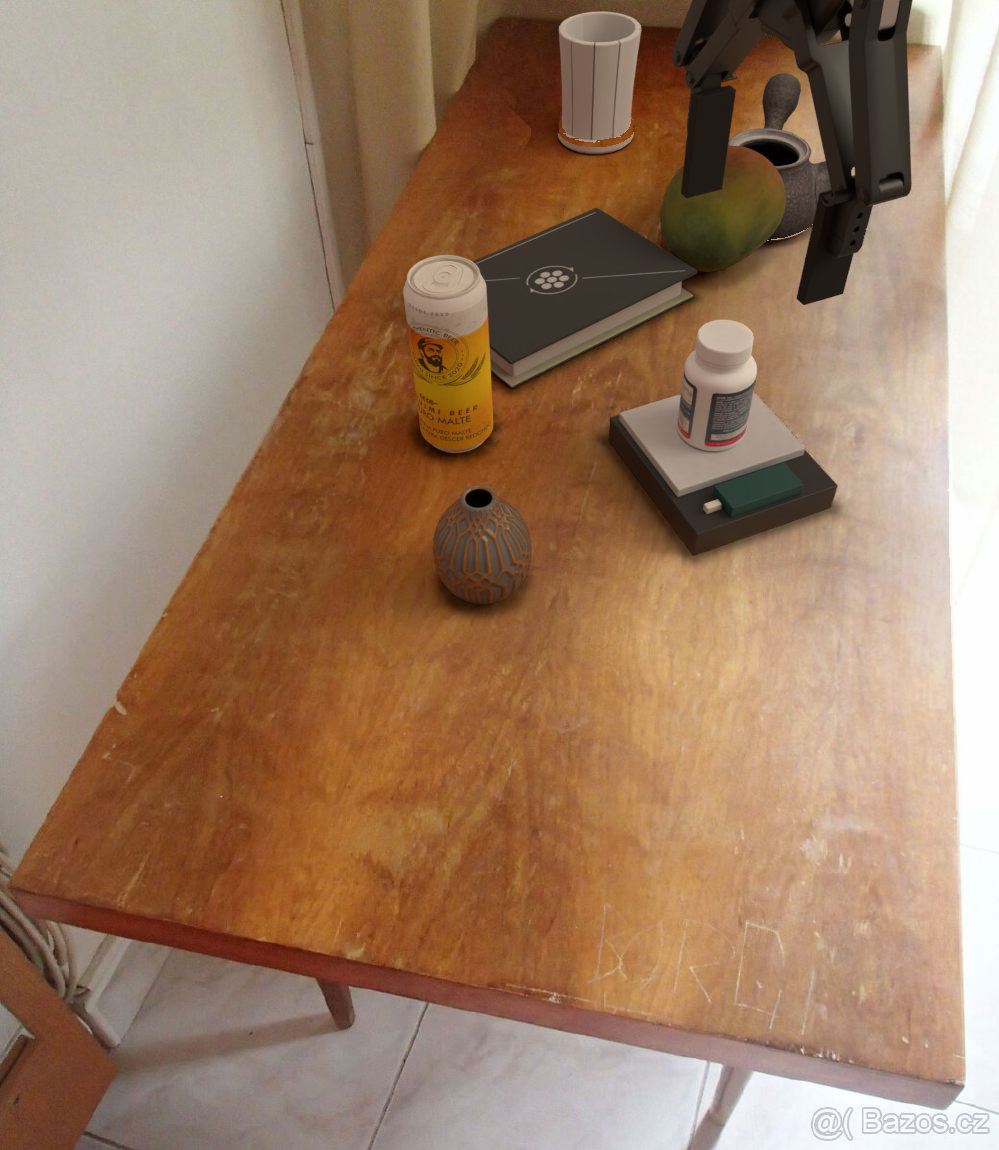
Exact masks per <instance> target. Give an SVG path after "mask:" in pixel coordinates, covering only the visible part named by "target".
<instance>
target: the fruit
mask: <svg viewBox="0 0 999 1150" xmlns="http://www.w3.org/2000/svg"><path fill="white" fill-rule="evenodd" d="M683 169H684V165H682V166H681V167H680V168H679V169H678V170H677V171H676V173H675V174H674V175H673V176H672V178H671V180H670V181H669V183H668V185H667V186H666V189H665V192H664V195H663V198H662V202H661V205H660V206H661V207H660V213H659V223H660V230H661V234H662V235H661V236H662V237H663V241H664V243H665V245H666V247H667V249H668V252H669V253H670V254H672V255H674V256H675V257H677V258H678V259H680V260H682V261H683V262H685V263H686V264H688V265H690V266H691V267H693V268H694V269H696V270H697V272H703V273H710V272H711V273H713V272H718V271H721V270H725V269H727V268H730V267H732V266H733V265H735V264H736V263H739V262H740V261H742V260H744V259H745V258H747V257H749V256H750V255H751V254H753V253H754V252H755V251H756V250H758V249H759V248H760V247H761V246H763V245H764V244H765V243H766V242H768V241H767V240H768V239H769V237H770V236H771V235H772V234H773V233H774V232H775V231H776V229H777V228H778V226H779V224H780V223H781V220H782V217H783V214H784V212H785V207H786V191H785V186H784V182H783V180H782V177H781V175H780V174H779V172H778V170H777V169H776V167H775V166H774V165H773V164H772V163H771V162H770V161H769V160H768V159H767V158H766V157H764V156H763V155H761V154H760V153H758V152H756V151H754V150H752V149H749V148H746V147H741V146H731V145H728V150H727V157H726V164H725V171H724V178H723V185H722V189H721V190H718V191H714V192H710V193H706V194H702V195H698V196H694V197H690V198H685V197H684V196H683V195H682V194H681V187H682V178H683Z"/></svg>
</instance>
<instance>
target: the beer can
mask: <svg viewBox="0 0 999 1150" xmlns="http://www.w3.org/2000/svg"><path fill="white" fill-rule="evenodd" d="M472 261H473V260H470V259H469V258H466V257H463V256H459V255H455V254H454V255H453V254H442V255H434V256H429V257H426V258H423V259H422V260H420V261H418V262H416V263H415V264H413V266H411V268H410V269H409V270H408V272H407V275H406V281H405V283H404V284H403V285H404V286H403V289H402V296H403V302H404V311H405V319H406V325H407V335H408V342H409V351H410V359H411V365H412V373H413V374H412V375H413V381H414V382H413V383H414V389H415V390H414V391H415V395H416V396H415V398H416V404H417V413H418V414H417V415H418V421H419V429H420V433H421V435H422V437H423V438H424V440H425V441H426V442H428V443H429V444H430V445H432V446H433V447H434V448H436V449H437V450H440V451H442V452H446V453H451V454H459V453H460V454H461V453H466V452H471V451H472V450H475V449H476V448H478V447H479V446H481V445H482V444H483V443H484V442H485V441H486V440H487V439H488V438H489V436H490V435H491V434H492V432H493V429H494V408H493V388H492V386H493V385H492V372H491V366H490V347H489V328H488V308H487V289H486V283H485V280H484V279H483V277H482V276H481V274H480V270H479V268H478V267H477V265H476V264H475V263H473V262H472Z"/></svg>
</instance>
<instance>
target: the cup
mask: <svg viewBox="0 0 999 1150" xmlns="http://www.w3.org/2000/svg"><path fill="white" fill-rule="evenodd" d="M641 36H642V25H641V23H640V22H639V21H638V20H637V19H635V18H634V17H632V16H630V15H627V14H623V13H619V12H614V11H613V12H612V11H589V12H583V13H578V14H575V15H571V16H570V17H568V18H565V19H564V20H563V21H562V22H561V23H560V25H558V38H559V39H558V40H559V54H560V56H559V57H560V77H561V118H562V128H563V129H564V130H565V132H566V133H563V134H566V136H567V137H569V138H579V139H575V140H579V141H584V142H593V143H595V142H596V141H597V140H604V139H609V138H616V137H621V136H620V135H622V134H623V133H625V132H626V131H627V130H628V129H629V127H630V124H631V119H632V110H633V109H632V107H633V96H634V87H635V78H636V70H637V63H638V57H639V56H638V55H639V49H640V42H641ZM634 134H635V131H634V132H633V134H632V135H631V137H630V138H628V139H627V140H625V141H624V142H621V143H619V144H616V145H612V146H607V147H585V146H578V145H575V144H572V143H569V142H568V141H566V140H564V139H563V138H562V137H561V136H560V134H559V133H558V132H557V138H558V140H559V141H560V143H561V144H562V145H563V146H565V147H566V148H568V149H569V150H571V151H574V152H577V153H580V154H586V155H604V154H609V153H615V152H616V151H619V150H621V149H623V148H624V147H626V146H627V145H628V144H629V143H631V141H632V140H633V138H634V136H635V135H634ZM598 142H600V141H598Z"/></svg>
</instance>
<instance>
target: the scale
mask: <svg viewBox="0 0 999 1150" xmlns="http://www.w3.org/2000/svg"><path fill="white" fill-rule="evenodd" d="M680 397H681V393H678V394H675V395H673V396H669V397H666V398H663V399H660V400H657V401H654V402H650V403H647V404H644V405H641V406H637V407H634V408H631V409H626V410H624V411H621V412H619V414H617V415H614V416H611V417H609V426H608V427H609V428H608V441H609V443H610V444H611V445H612V446H613V448H614V449H615V451H616V452H617V453H618V455H619V456H620V457H621V459H622V460H623V462H624V463H625V464H626V465H627V467H628V469H630V471H631V472H632V474H633V475H634V476H635V478H636V479H637V480H638V482H639V483H640V485H641V486H642V487H643V489H644V490H645V491H646V493H647V494H648V495H649V497H650V498H651V499H652V501H653V503H654V504H655V505H656V507H657V508H658V509H659V510H660V512H661V514H662V515H663V516H664V517H665V519H666V520H667V522H668V523H669V524H670V526H671V527H672V528H673V530H674V531H675V532H676V534H677V535H678V536H679V538H680V539H681V541H682V542H683V543H684V544H685V546H686V547H687V549H688V550H689V552H690V553H691V554H692V555H693V556H696V555H699V554H703V553H705V552H708V551H711V550H714V549H716V548H720V547H723V546H725V545H728V544H730V543H734V542H736V541H739V540H742V539H745V538H749V537H750V536H754V535H756V534H759V533H762V532H765V531H768V530H771V529H774V528H777V527H780V526H782V525H785V524H787V523H791V522H794V521H796V520H799V519H802V518H805V517H808V516H810V515H813V514H816V513H819V512H823V511H825V510H828V509H831V508H832V505H833V502H834V500H835V496H836V493H837V490H838V487H839V486H838V484H837V483H836V481H835V480H833V479H832V477H831V476H830V475H829V474H828V472H826V470H824V469H823V467H821V466H820V464H819V463H818V462H817V461H816V460H815V459H814V457H813V456H811V454H810V453H809V451H807V450H806V446H804V444H802V442H801V441H800V440H799V439H798V438H797V437H796V436H795V435H794V434H793V433H792V432H791V431H790V429H788V427H787V426H786V425H785V424H784V423H783V422H782V420H780V418H779V417H777V415H776V414H775V413H774V412H773V411H772V410H771V409H770V408H769V407H768V405H766V404H765V402H764V401H763V400H762V399H761V398H760V397H759V396H758V395H757V394H756V392H754V391H753V397H752V402H751V407H750V412H749V417H748V423H747V428H746V432H745V435H744V437H743V439H742V440H741V441H740V443H738V444H737V445H736V446H734V447H732V448H730V449H727V450H722V451H706V450H702V449H698V448H696V447H693V446H691V445H690V444H688V443H687V442H686V441H684V440H683V439H682V437H681V436H680V434H679V432H678V428H677V422H678V413H679V405H680Z"/></svg>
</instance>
